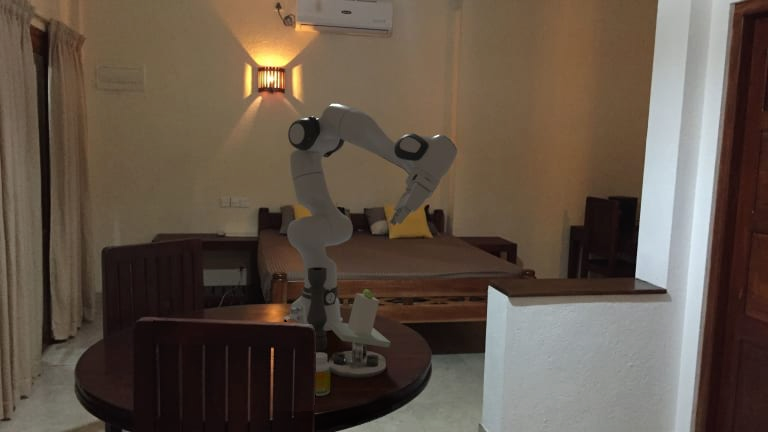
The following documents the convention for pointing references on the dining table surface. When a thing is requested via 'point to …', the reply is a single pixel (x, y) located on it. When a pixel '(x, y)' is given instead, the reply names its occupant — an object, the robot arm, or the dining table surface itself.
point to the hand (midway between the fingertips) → (394, 223)
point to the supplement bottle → (322, 374)
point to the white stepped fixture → (361, 322)
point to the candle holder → (318, 305)
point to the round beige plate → (357, 362)
